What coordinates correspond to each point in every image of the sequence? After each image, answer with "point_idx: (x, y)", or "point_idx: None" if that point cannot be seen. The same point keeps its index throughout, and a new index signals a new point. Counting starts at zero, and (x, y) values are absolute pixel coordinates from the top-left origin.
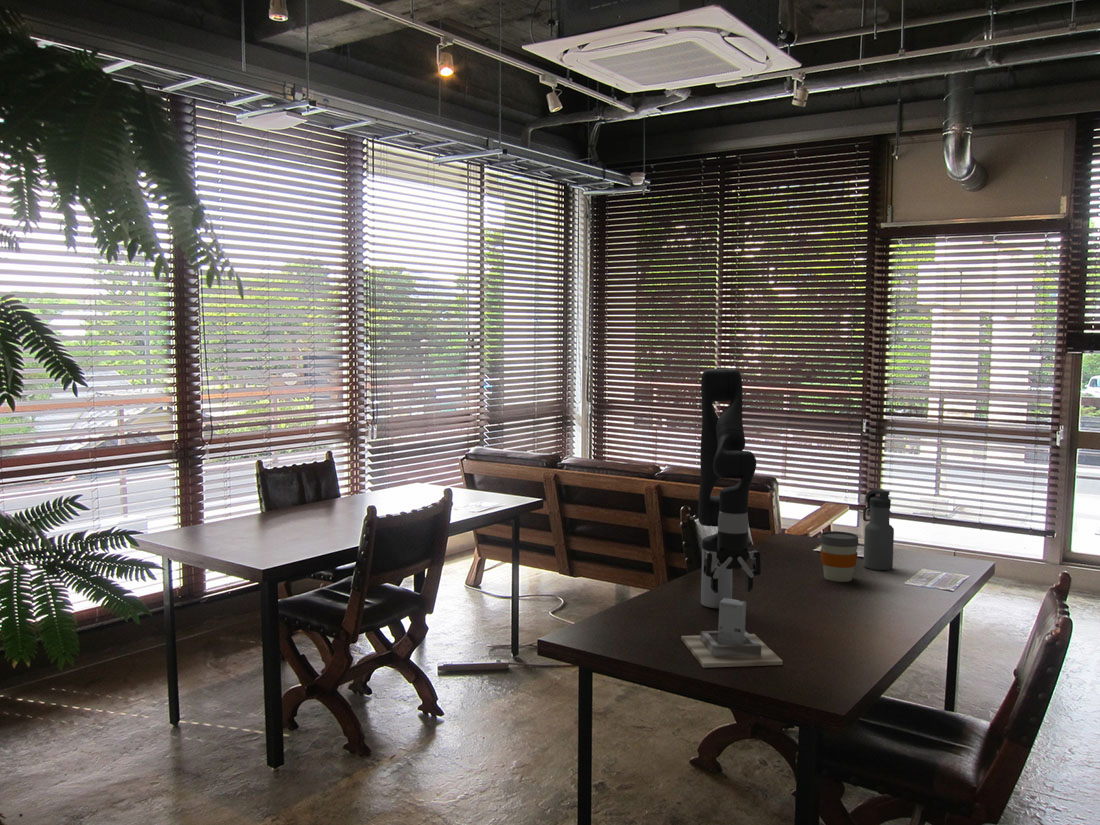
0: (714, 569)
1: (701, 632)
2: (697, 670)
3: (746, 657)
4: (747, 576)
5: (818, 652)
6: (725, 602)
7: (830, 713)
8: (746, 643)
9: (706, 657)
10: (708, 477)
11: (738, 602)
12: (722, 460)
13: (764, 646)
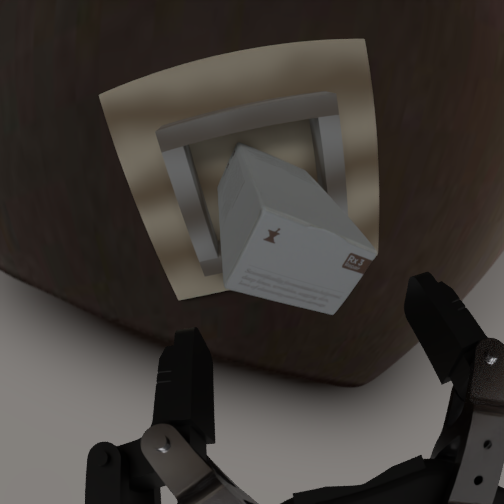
0: (179, 487)
1: (158, 142)
2: (168, 307)
3: None
4: (457, 367)
5: (471, 164)
6: (258, 292)
7: (356, 386)
8: (318, 165)
9: (184, 265)
10: None
11: (331, 284)
12: None
13: (369, 156)
